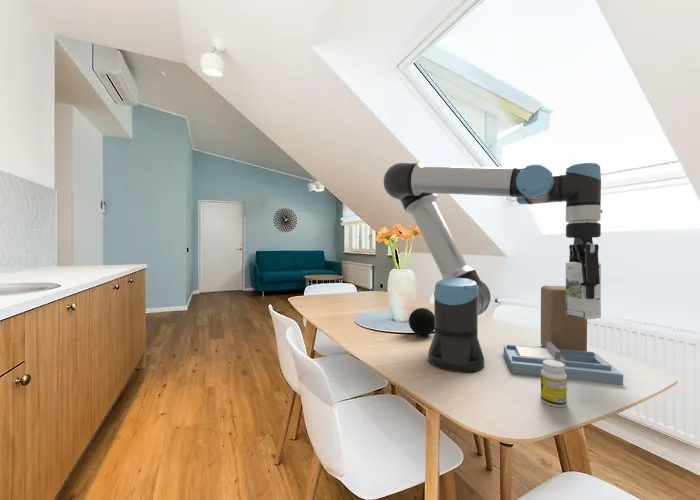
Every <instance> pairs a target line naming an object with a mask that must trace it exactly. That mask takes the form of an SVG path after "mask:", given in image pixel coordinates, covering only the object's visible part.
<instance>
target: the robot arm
mask: <svg viewBox="0 0 700 500" xmlns="http://www.w3.org/2000/svg"><path fill="white" fill-rule="evenodd" d="M601 175H602V174H601V166H600V164H598V163H597V162H589V161H588V162H579V163H574V164H571V165H568V166H567V167H566V170H565V173H560V174H553V173H552V171H551V170H550V169H549V168H548V167H546V166H544V165H542V164H539V163H538V164H537V163H534V164H528V165H527V166H524V167H523V166H522V167H521V166H519V167H514V166H512V167H510V166H507V167H505V166H504V167H503V166H501V167H500V166H499V167H497V166H496V167H495V166H486V167H485V166H482V167H479V166H424V165H423V164H422V163H416V162H415V163H411V162H398V163H395V164H393V165H391V166H390V167H389V168H388V169H387V170H386V172H385V174H384V176H383V187H384V190H385V191H386V193H387V194H388V195H389V196H390V197H391V198H394V199H396V200H399V201H400V202H401V204H402V207H403V209H404V211H405V212H406V213H407V214H410V215H412V217H413V219H414V221H415V223H416V226H417V227H418V230H419V231H420V233H421V235H422V238H423V240H424V241H425V244H426V246H427V248H428V251H429V252H430V253H431V256H432V258H433V260H434V262H435V264H436V266H437V268H438V271H439V272H440V275H441V276H442V279H440V280H438V281H437V282H436V283H435V285H434V292H433V297H434V300H433V301H434V312H433V314H434V317H435V329H434V334H433V337H432V340H431V343H430V346H429V349H428V352H427V354H428V355H427V360H428V362H429V364H431V365H432V366H434V367H437V369H438V368H439V369H441V370H445V371H449V372H458V373H471V372H477V371H480V370H482V369H483V368H484V367H485V356H484V353H483V350H482V347H481V344H480V341H479V338H478V336H479V335H478V325H479V323H478V321H479V320H478V319H479V318H478V316H481V315H482V314H483V313H484V312H485V311H486V310H487V309H488V307H489V305H490V303H491V297H492V296H491V291H490V288H489V287H488V285H487V284H486V283H485V282H484V281H482V280H481V278H480V277H479V274H478V273H477V271H476V269H475V268H474V267H470V266H469V265H468V264H467V262H466V260H465V258H464V256H463V254H462V252H461V250H460V248H459V247H458V245H457V242H456V241H455V239H454V236H453V235H452V234H451V231H450V229H449V227H448V225H447V224H446V221H445V220H444V217H443V216H442V214H441V212H440V210H439V208H438V206H437V203H436V201H437V198H438V196H437V194H443V195H445V194H446V195H448V194H449V195H466V196H467V195H470V196H491V197H493V196H494V197H510V198H513V197H514V198H516V202H517V203H518V204H520V205H535V204H548V203H550V204H551V203H562V202H564V203H565V222H566V223H568V224H566V225H565V237H566V238H568V239H573V244H569V246H568V249H569V259H568V260H569V261H568V262H581V264H582V276H583V283H581V284H580V285H581V286H582V311H585V312H595V287H596V285H597V284H600V279H599V263H600V262H599V248H600V247H599V244H598V243H597V244H594V241H593V238H600V237H601V234H602V232H601V230H602V229H601V225H602V224H601V223H600V221H601V220H602V219H601V214H602V213H603V211H604V210H603V209H601V207H602V206H601V202H602V200H601V199H602V176H601Z"/></svg>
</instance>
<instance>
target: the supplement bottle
mask: <svg viewBox="0 0 700 500" xmlns="http://www.w3.org/2000/svg"><path fill="white" fill-rule="evenodd" d="M564 372H565V364H564V363H562V362H559V361H555V360H544V361H543V369H542V370H541V376H540V399H541V401H542V403H544V404H546V405H548V406H551V407H555V408H563V407H566V406H567V405H568V393H567V392H568V379H567V375H566V374H565V373H564Z"/></svg>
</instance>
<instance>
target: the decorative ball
mask: <svg viewBox="0 0 700 500" xmlns="http://www.w3.org/2000/svg"><path fill="white" fill-rule="evenodd" d="M408 326H409V328H410V329H411V331H413V333H414V334H416V335H418V336H428V335H431V334H432V333H433V332H435V317H434V312H432V311H431V310H430V309H428V308H424V307H419V308H416V309H414V310H413V311H412V312H411V313H410V315H409V318H408Z"/></svg>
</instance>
